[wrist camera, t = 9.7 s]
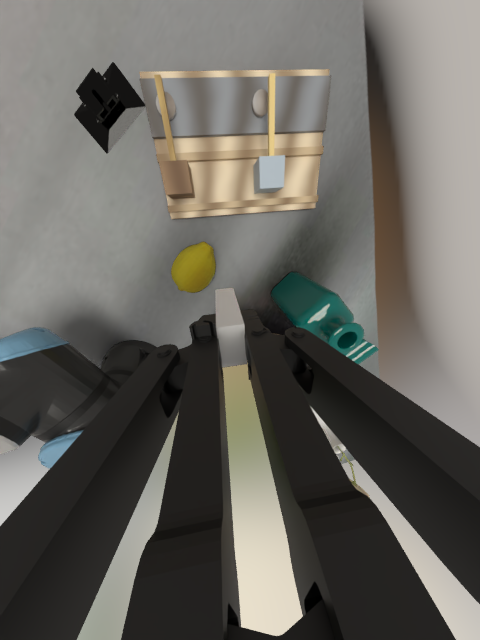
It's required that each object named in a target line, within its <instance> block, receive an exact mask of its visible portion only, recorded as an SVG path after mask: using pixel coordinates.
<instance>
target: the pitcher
mask: <svg viewBox="0 0 480 640" xmlns="http://www.w3.org/2000/svg"><path fill="white" fill-rule="evenodd" d="M271 297H272V299H273V300H274V301H275V303H276V304H277V305H278V306H279V308H280V309H281V310H282V311H283V312H284V314H285V315H286V316H287V317H288V319H289V320H290V321H291V322H292V324H293V325H294V326H295V327H300V328H304V329H306V330H308V331H310V332H311V333H313V334H314V335H316V336H317V337H319V338H320V339H321V340H323V341H324V342H326V343H327V344H329V345H330V346H332V347H333V348H335V349H336V350H338V351H339V352H341V353H342V354H343V355H345V356H346V357H348V358H349V359H351V360H352V361H354V362H355V363H357V364H360V363H361V362H363V361H364V360H365V359H367V358H368V357H370V356H371V355H372V354H374V353H375V352H377V351H378V348H377V347H375V346H374V345H372V344H371V343H369V342H367V341H366V340H364V339H363V337H364V329H363V328H362V327H361V325H359V324H357V323H353V321H354V317H353V314H352V312H351V311H350V310H349V308H348V307H347V306H346V304H345V303H344V302H343V301H342V299H341V298H340V297H339V295H338V294H337V293H335V292H333V291H331V290H329V289H328V288H326V287H324V286H322V285H320V284H318V283H316V282H315V281H313V280H311V279H309V278H307V277H305V276H303V275H302V274H300V273H298V272H291V273H289V274H288V275H287V276H286V277H285V278H284V279H283V280H282V281H281V282H280V283H279V284H278V285H277V286H275V287H274V288H273V290H272V292H271Z"/></svg>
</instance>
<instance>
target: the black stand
mask: <svg viewBox="0 0 480 640" xmlns="http://www.w3.org/2000/svg"><path fill="white" fill-rule="evenodd" d="M76 92H77V94H78V95H79V96H80V97H79V98H80V99H81V101H82V102H83V103H82V104H81V106H80V107H79V108H78V110H77V111H76V112H75V114H74V115H75V117H76V118H77V119H78V120H79V121H80V123H81V124H82V125H83V126H84V127H85V129H86V130H87V131H88V132H89V133H90V134H91V136H92V137H93V138H94V139H95V140H96V141H97V143H98V144H99V145H100V146H101V147H102V149H103V150H104V151H105V152H106V153H108V152H109V151H110V150H111V149H112V147H113V146H114V145H115V144H116V143H117V141H118V140H119V139H120V138H121V136H122V135H123V134H124V133H125V131H126V130H127V129H128V128H129V127H130V125H131V124H132V123H133V122H134V120H135V119H136V118H137V117H138V115H139V114H140V113H141V112H142V110H143V109H144V108H145V104H144V102H143V101H142V100H141V98H140V97H139V96H138V94H137V93H136V92H135V90H134V89H133V88H132V86H131V85H130V84H129V82H128V81H127V79H126V78H125V77H124V75H123V74H122V73H121V71H120V70H119V69H118V67H117V66H116V65H115V63H114V62H112V64H111V65H110V66H109V68H108V69H107V70H106V72H105V73H104V74H103V76H101V74H100V73H99V72H97V73H96V71H95V70H94V69H93V68H92V69H91V70H90V72H89V73H88V75H87V76H86V77H85V79H84V80H83V82H82V83H81V84H80V86H79V87H78V89H77V90H76Z"/></svg>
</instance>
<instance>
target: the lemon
mask: <svg viewBox="0 0 480 640" xmlns="http://www.w3.org/2000/svg"><path fill="white" fill-rule="evenodd" d="M213 253H214V250H213V248H212V247H211V246H210V245H208V244H207V243H205V242H201V243H199V244H196V245H191V246H189V247H187V248H185V249H184V250H182V251H181V252H180V253H179V255H178V256H177V258H176V259H175V261H174V263H173V266H172V269H171V275H172V278H173V280H174V282H175V283H176V284H177V286H178V289H179V290H180V291H187V292H191V293H195V292H199V291H201V290H203V289H204V288H205V287H206V286H208V285H209V283H210V282H211V281H212V279H213V277H214V274H215V268H216V264H215V258H214V254H213Z"/></svg>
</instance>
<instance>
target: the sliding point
mask: <svg viewBox="0 0 480 640" xmlns="http://www.w3.org/2000/svg"><path fill="white" fill-rule="evenodd" d="M274 140H275V73H269V76H268V156H259V158H258V159H257V161H256V163H255V164H254V166H253V170H254V194H258V193H273V192H277V191H278V190H280V189H282V188H283V187H284V171H285V155H279V156H274Z"/></svg>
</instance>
